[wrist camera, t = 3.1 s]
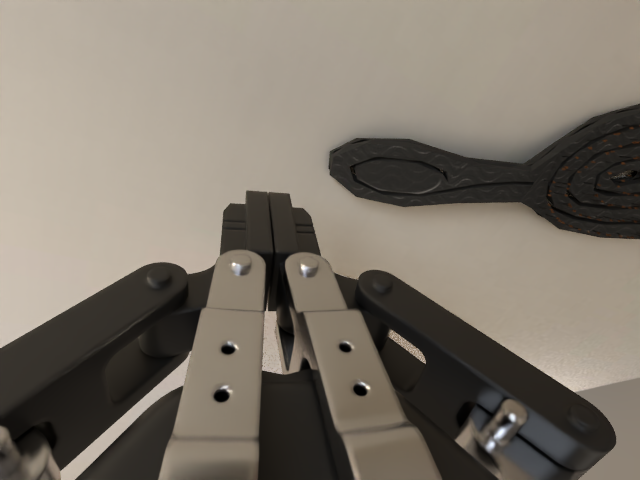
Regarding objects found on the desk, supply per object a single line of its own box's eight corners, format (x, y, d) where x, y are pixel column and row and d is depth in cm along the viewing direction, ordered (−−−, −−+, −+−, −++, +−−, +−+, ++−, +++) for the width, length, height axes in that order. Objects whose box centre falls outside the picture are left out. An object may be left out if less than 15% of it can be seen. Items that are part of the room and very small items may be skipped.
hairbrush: (350, 93, 15) (846, 138, 19) (337, 70, 18) (768, 113, 22) (325, 256, 20) (725, 266, 24) (317, 218, 23) (674, 232, 27)
